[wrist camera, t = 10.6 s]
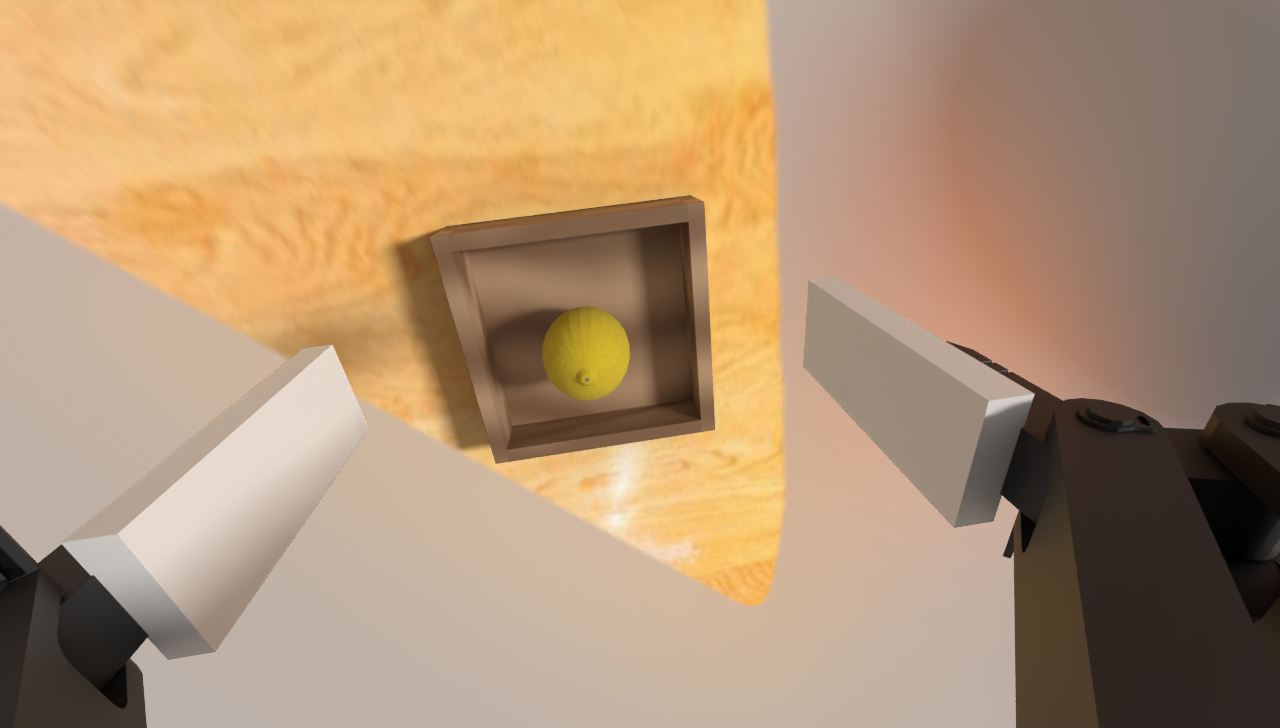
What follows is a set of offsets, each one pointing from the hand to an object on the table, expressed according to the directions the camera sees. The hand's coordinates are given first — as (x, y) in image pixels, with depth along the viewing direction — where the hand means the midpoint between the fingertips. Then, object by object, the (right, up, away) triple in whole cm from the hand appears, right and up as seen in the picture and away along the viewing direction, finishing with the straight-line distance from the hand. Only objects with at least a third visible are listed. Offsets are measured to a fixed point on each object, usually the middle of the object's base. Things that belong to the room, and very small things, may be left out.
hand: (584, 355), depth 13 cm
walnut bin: (-2, +3, +21) cm, 21 cm away
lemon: (-2, +2, +21) cm, 21 cm away
